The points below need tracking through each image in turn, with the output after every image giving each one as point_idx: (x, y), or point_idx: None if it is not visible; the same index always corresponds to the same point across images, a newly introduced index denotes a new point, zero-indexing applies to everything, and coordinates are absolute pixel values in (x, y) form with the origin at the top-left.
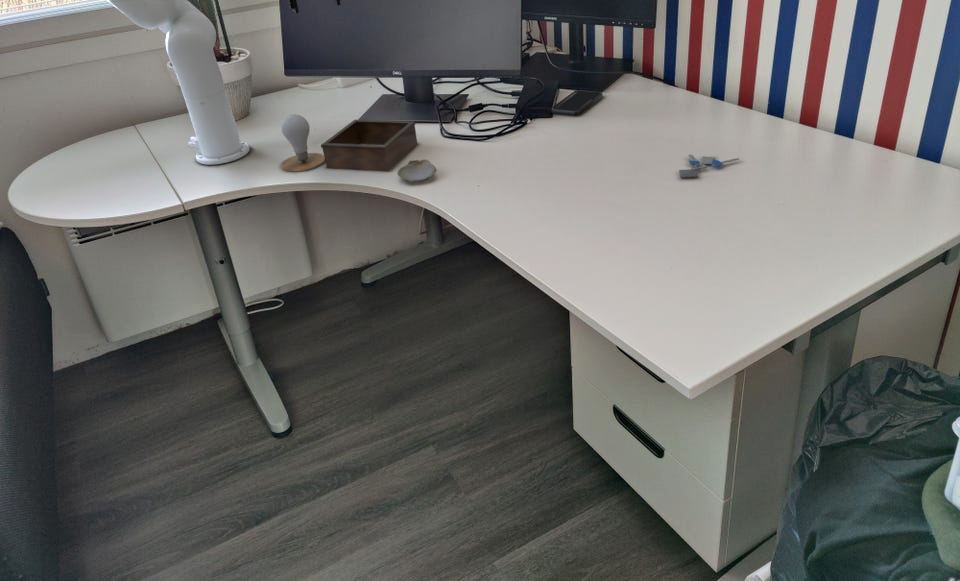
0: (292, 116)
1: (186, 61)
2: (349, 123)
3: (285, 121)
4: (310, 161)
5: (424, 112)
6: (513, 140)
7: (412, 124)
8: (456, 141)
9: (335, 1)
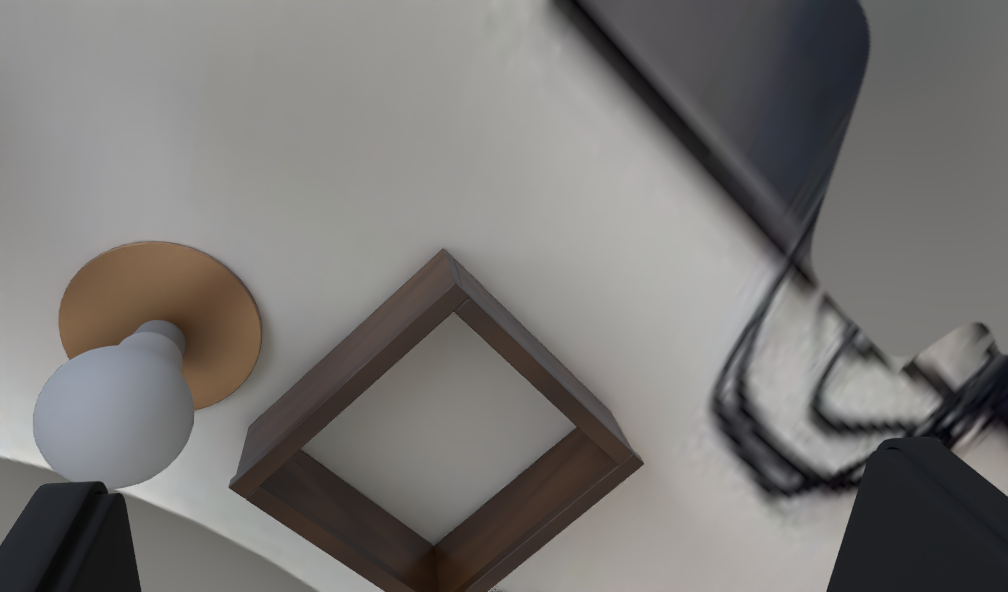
0: (91, 470)
1: None
2: (415, 320)
3: (50, 463)
4: (193, 350)
5: (823, 86)
6: (832, 539)
7: (623, 478)
8: (717, 458)
9: (869, 583)
